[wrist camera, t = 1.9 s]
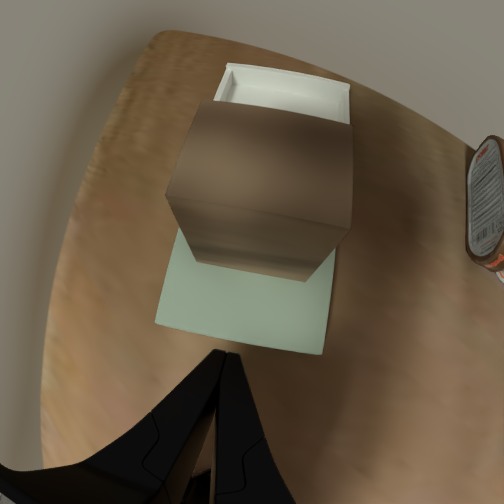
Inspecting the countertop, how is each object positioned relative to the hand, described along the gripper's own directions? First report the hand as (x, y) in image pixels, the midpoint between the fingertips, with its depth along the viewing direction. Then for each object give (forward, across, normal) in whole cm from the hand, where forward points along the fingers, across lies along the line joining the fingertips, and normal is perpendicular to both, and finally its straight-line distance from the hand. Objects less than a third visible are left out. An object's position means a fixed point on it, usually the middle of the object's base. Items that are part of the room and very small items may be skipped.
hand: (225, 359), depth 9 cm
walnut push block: (+14, 0, +2) cm, 14 cm away
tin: (+22, -23, -2) cm, 31 cm away
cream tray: (+26, 0, -7) cm, 27 cm away
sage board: (+16, 0, +2) cm, 17 cm away
